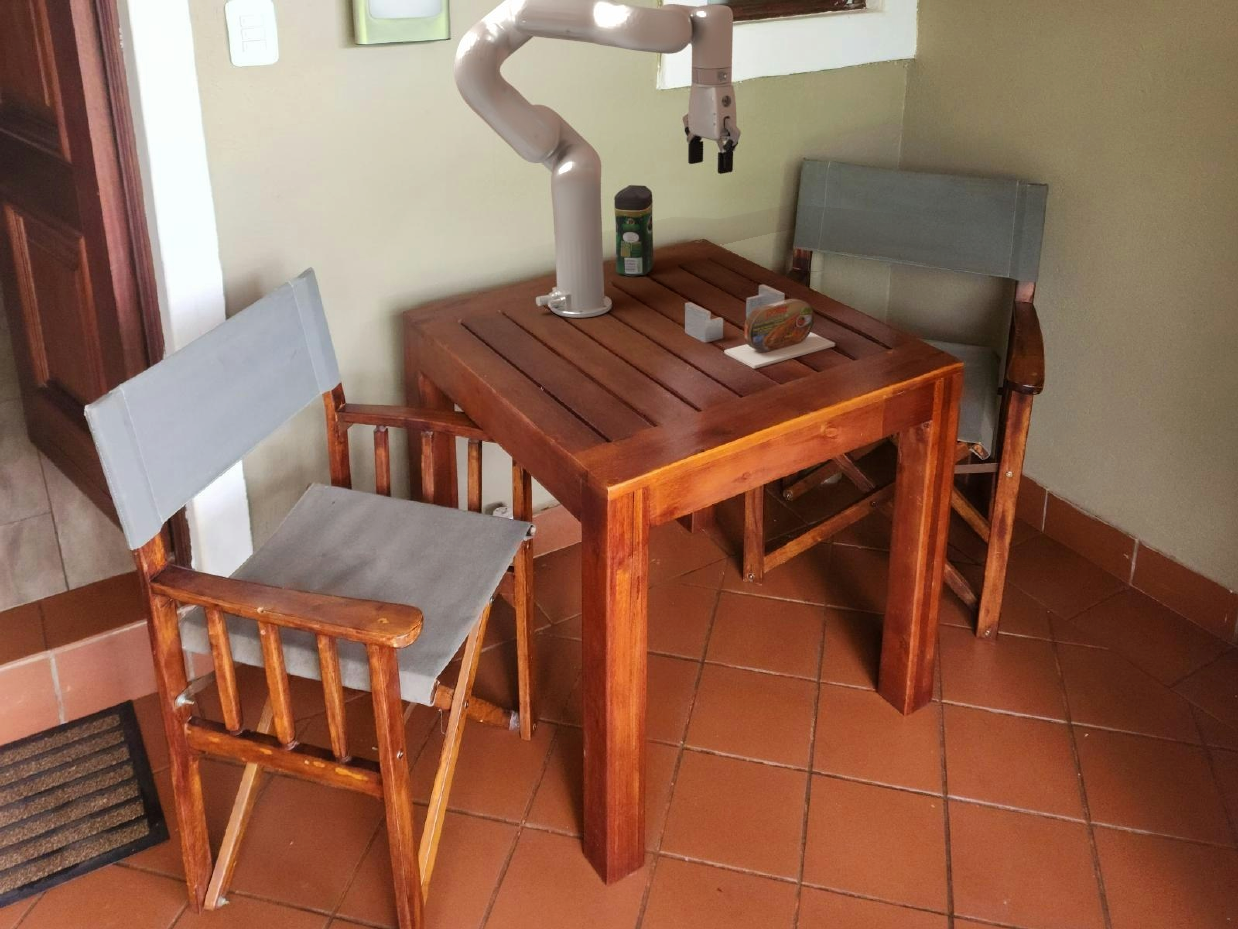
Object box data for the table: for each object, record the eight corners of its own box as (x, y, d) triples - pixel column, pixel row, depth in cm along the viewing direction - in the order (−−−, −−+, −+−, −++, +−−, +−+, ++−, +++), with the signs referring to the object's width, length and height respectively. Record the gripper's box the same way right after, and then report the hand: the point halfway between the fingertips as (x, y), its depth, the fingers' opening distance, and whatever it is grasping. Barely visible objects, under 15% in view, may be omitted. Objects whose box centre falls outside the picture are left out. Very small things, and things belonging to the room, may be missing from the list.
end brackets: (783, 322, 232) (784, 293, 229) (704, 342, 223) (705, 313, 220) (762, 312, 237) (763, 284, 234) (685, 332, 228) (685, 303, 225)
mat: (754, 368, 211) (754, 365, 211) (724, 353, 218) (724, 350, 218) (834, 346, 220) (834, 343, 220) (803, 331, 227) (803, 328, 227)
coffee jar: (622, 262, 267) (621, 181, 259) (656, 264, 265) (656, 183, 257) (611, 276, 259) (609, 192, 250) (646, 278, 257) (645, 194, 249)
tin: (750, 357, 215) (751, 313, 211) (740, 351, 217) (741, 308, 213) (814, 339, 222) (816, 297, 218) (803, 334, 224) (805, 292, 220)
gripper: (756, 80, 215) (752, 173, 223) (701, 67, 228) (700, 156, 236) (722, 84, 212) (720, 179, 220) (669, 72, 225) (669, 161, 233)
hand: (710, 167), depth 228 cm, fingers open, 9 cm apart
